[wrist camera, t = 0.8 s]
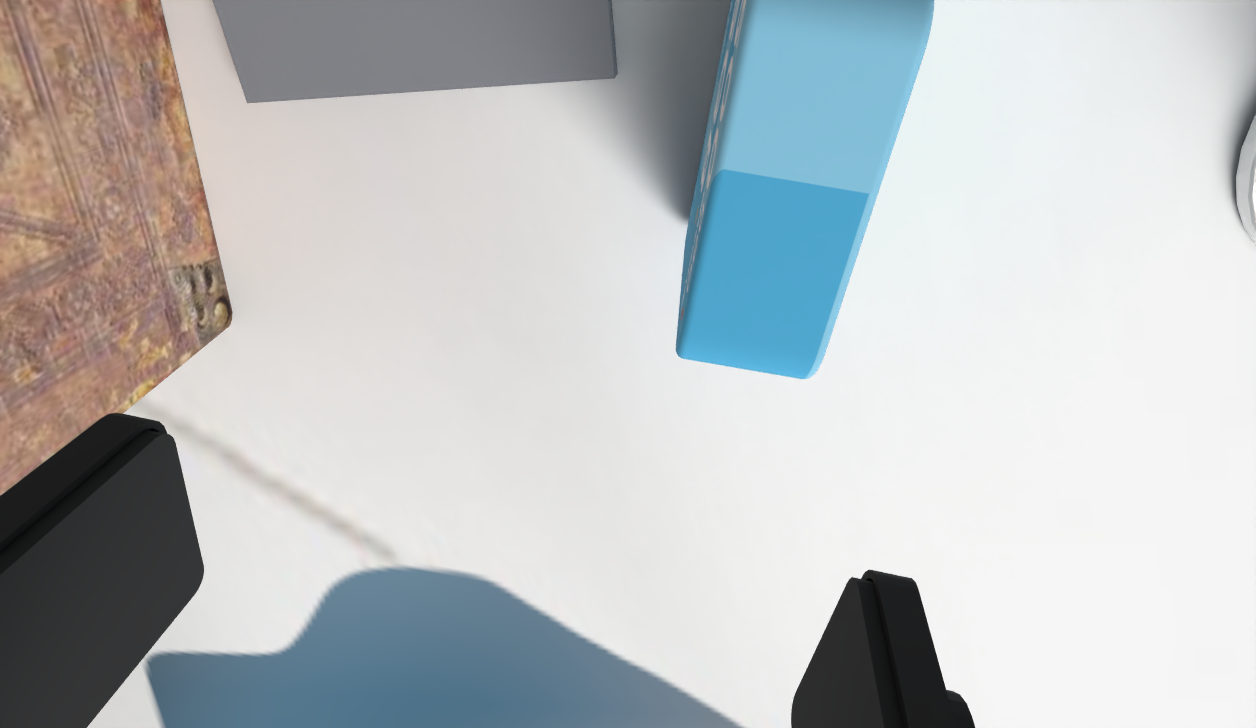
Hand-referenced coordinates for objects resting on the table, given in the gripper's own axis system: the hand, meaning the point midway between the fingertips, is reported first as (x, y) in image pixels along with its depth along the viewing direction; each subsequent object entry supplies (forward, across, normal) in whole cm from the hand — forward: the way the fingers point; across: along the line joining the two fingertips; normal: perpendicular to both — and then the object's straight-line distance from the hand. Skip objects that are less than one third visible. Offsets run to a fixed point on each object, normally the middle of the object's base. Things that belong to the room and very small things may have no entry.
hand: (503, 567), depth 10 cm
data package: (+25, -4, -2) cm, 25 cm away
